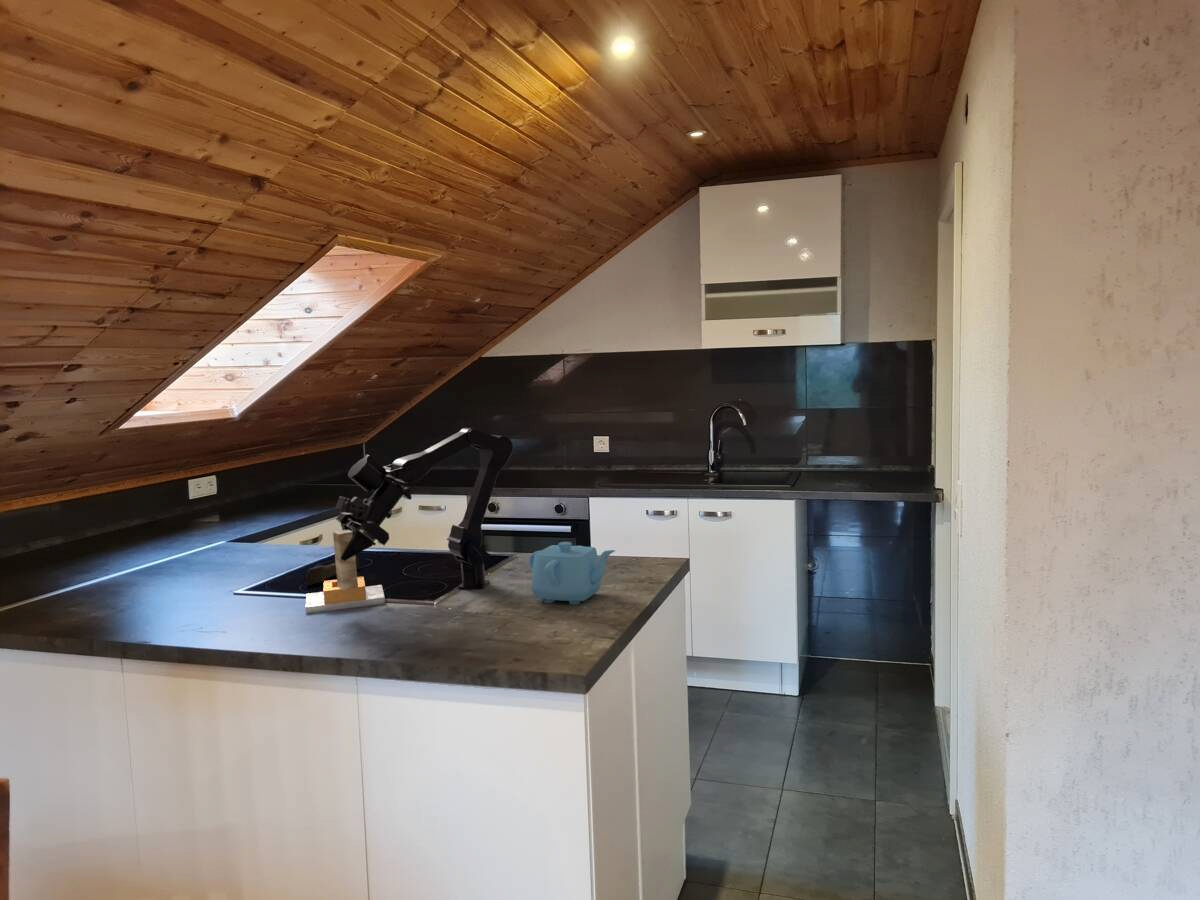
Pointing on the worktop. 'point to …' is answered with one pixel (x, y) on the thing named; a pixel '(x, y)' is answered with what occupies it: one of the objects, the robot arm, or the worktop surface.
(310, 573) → the hand tool
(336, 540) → the tan block
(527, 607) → the worktop surface
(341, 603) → the bracket plate
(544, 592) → the teapot
